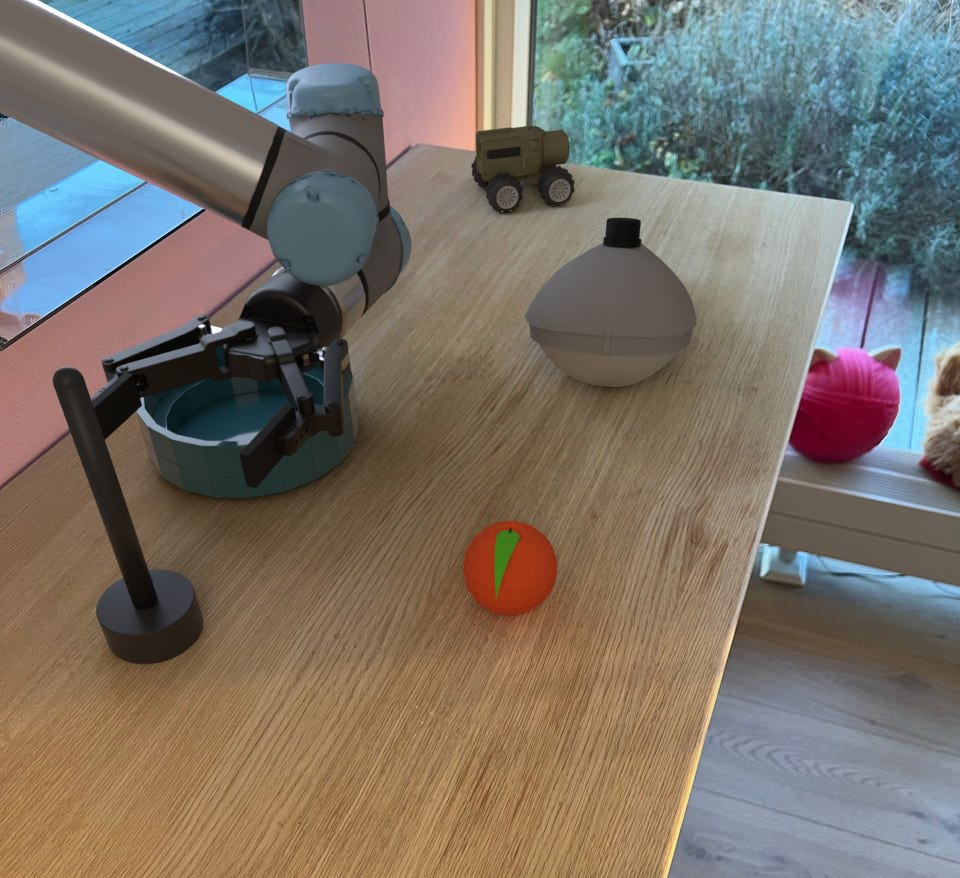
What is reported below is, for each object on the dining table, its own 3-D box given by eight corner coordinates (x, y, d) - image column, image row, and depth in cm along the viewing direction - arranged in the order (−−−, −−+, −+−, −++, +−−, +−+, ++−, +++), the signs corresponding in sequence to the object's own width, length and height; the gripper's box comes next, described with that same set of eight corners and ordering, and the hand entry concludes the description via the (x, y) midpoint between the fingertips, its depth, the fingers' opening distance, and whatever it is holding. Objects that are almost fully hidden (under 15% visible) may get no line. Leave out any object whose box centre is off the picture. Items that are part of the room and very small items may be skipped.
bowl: (110, 480, 91) (90, 422, 86) (221, 374, 103) (208, 318, 98) (299, 524, 86) (288, 464, 81) (392, 406, 98) (386, 349, 93)
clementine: (545, 651, 74) (546, 577, 69) (451, 638, 76) (446, 564, 71) (563, 578, 80) (566, 505, 75) (475, 567, 81) (473, 494, 76)
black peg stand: (88, 651, 76) (-23, 388, 60) (142, 589, 80) (52, 331, 65) (169, 674, 74) (77, 409, 58) (220, 610, 78) (147, 349, 63)
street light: (689, 415, 90) (709, 244, 83) (511, 403, 92) (517, 236, 85) (686, 342, 116) (701, 208, 109) (547, 334, 118) (554, 202, 111)
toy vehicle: (470, 185, 134) (466, 84, 125) (552, 175, 136) (554, 75, 127) (490, 218, 127) (488, 113, 118) (577, 206, 128) (581, 103, 120)
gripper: (443, 377, 86) (329, 531, 72) (184, 330, 92) (34, 463, 79) (438, 291, 81) (314, 440, 67) (164, 249, 87) (-1, 376, 73)
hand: (162, 453), depth 73 cm, fingers open, 13 cm apart
